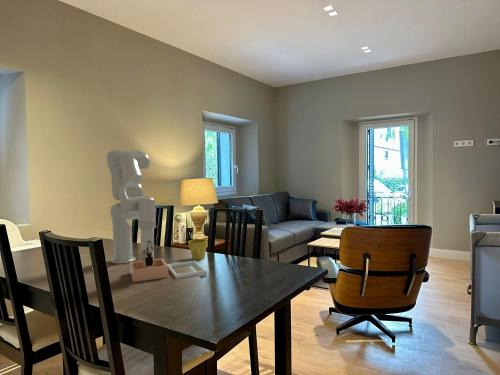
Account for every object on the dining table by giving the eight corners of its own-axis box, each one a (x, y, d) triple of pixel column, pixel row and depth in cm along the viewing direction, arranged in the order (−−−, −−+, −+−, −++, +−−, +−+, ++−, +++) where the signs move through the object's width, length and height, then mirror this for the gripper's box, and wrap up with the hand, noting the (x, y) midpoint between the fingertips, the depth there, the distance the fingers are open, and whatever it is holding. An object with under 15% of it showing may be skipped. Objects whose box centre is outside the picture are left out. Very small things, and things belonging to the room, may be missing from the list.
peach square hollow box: (130, 275, 161) (129, 262, 161) (162, 270, 167) (162, 258, 167) (133, 284, 148) (132, 270, 147) (168, 279, 154) (168, 265, 153)
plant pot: (185, 259, 188) (184, 241, 188) (196, 255, 198) (196, 238, 197) (200, 261, 184) (200, 243, 183) (211, 257, 193) (211, 239, 192)
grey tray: (167, 269, 170) (167, 264, 170) (195, 265, 176) (195, 260, 175) (175, 280, 152) (175, 275, 151) (206, 276, 157) (206, 270, 157)
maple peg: (142, 273, 159) (141, 248, 158) (153, 272, 161) (152, 246, 160) (143, 276, 154) (142, 250, 154) (155, 275, 156) (154, 249, 156)
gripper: (136, 222, 163) (137, 260, 164) (140, 228, 147) (142, 270, 148) (152, 221, 166) (154, 259, 167) (158, 226, 150) (159, 268, 151)
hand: (148, 263), depth 157 cm, fingers closed on maple peg, 5 cm apart
